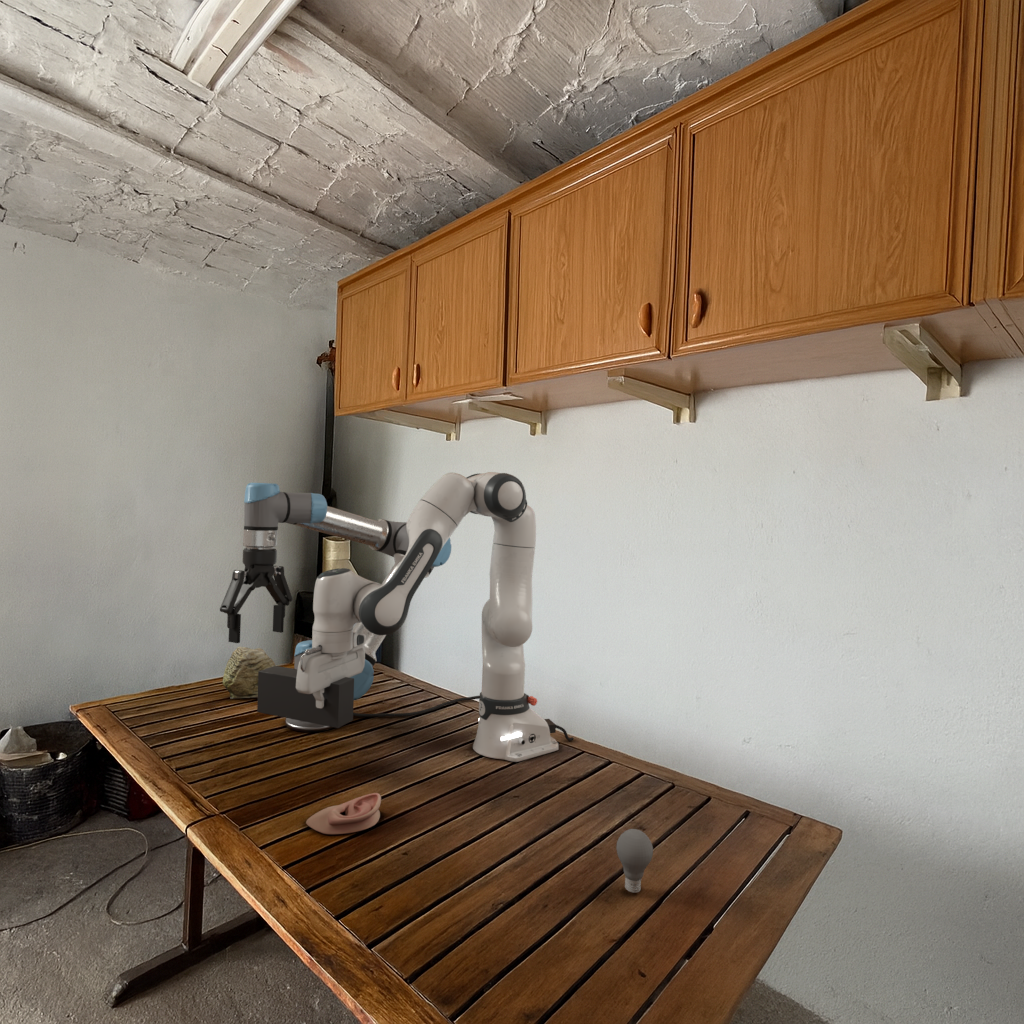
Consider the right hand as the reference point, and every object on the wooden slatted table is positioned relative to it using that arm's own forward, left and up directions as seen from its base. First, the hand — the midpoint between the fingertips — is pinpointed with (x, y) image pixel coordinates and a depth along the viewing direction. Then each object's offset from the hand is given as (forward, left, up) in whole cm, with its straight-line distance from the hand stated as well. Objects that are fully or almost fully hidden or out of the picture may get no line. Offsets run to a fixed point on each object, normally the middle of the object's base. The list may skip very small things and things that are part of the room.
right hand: (331, 702), depth 142 cm
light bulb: (-38, +61, -17) cm, 74 cm away
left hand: (+14, -17, +12) cm, 25 cm away
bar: (+5, -5, -4) cm, 8 cm away
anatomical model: (+1, +20, -17) cm, 26 cm away
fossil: (+9, -68, -17) cm, 70 cm away
